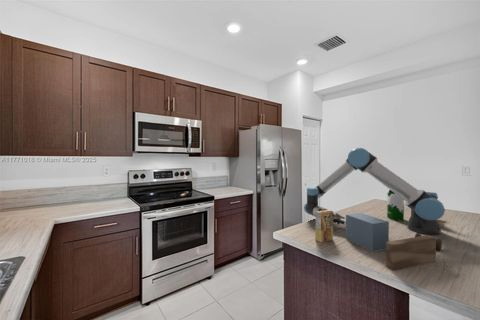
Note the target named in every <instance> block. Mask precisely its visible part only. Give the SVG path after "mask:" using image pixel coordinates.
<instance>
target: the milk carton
mask: <svg viewBox="0 0 480 320" xmlns="http://www.w3.org/2000/svg"><path fill="white" fill-rule="evenodd" d="M386 196H387V197H386V198H387V199H386V200H387V206H386V207H387V209H386V210H387V212H386V213H387V215H386V217H387V218H388V219H390V220H392V221H404V219H405V216H404V215H405V200H403V199H402V198H401V197H399V196H398V195H397V194H395V193H394V192H393V191H391V190H390V189H388V192H386Z"/></svg>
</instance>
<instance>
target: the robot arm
mask: <svg viewBox="0 0 480 320" xmlns="http://www.w3.org/2000/svg"><path fill="white" fill-rule="evenodd" d="M357 170H359V171H360V172H361V173H366V174H369V175H370V176H371V177H373V178H374V179H375V180H377V182H379V183H381V184H382V185H383V186H385V187H386V188H387V189H388V190H391V191H393V192H394V193H395V194H397V195H398V196H399V197H401V198H402V199H403V200H404V205H405V206H406V207H408V208H410V209H411V210H410V217H409V219H408V222H407V224H406V225H407V226H406V228H407V229H408V230H410V231H411V232H412V231H413V232H416V233H419V234H423V235H430V236H432V235H433V236H434V235H436V236H437V235H441V234H442V228H441V225H440V223H439V219H441V218H442V217H443V216H444V215H445V212H446V209H445V206H444V204H443V203H442V202H441V201H440V200H439V199H438V198H439V197H438V193H437V192H431V191H430V192H429V191H425V190H424V189H417V188H416V187H414V186H413V185H411V184H410V183H409V182H407V181H406V180H404V179H402V177H400V175H397V174H396V173H395V172H393V171H392V170H390V169H389V168H388V167H386V166H384V165H383V164H381V163H380V162H379V161H378V157H377V156H374V155H373V154H372V153H371V152H369V151H368V150H367V149H365V148H363V147H355V148H353V149H351V150H350V151H349V152H348V154H347V158H346V159H345V162H344V163H343V164H342V165H340V166H339V167H338V168H337V169H336V170H334V171H333V172H332V173H331V174H330V175H329V176H328V177H326V178H325V179H324V180H323V181H321V182H320V183H319V184H317V186H309V187H307V188H306V203H305V204H304V206H303V210H304V212H305V213H306V214H308V215H311V216H313V217H315V218H316V211H322V210H329V209H328V208H325V207H322V206H319V199H320V198H321V197H323V196H324V195H325V194H326V193H327V192H328V191H330V190H331V189H332V188H334V187H335V186H336V185H338V184H339V183H340V182H342V180H344V179H345V178H346V177H348V175H350V174H351V173H353V171H357ZM333 224H337V225H340V224H341V225H343V226H345V227H346V217H343V216H342V215H340V214H339V213H335V214H334V213H333Z"/></svg>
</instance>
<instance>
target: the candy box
mask: <svg viewBox="0 0 480 320" xmlns="http://www.w3.org/2000/svg"><path fill="white" fill-rule="evenodd" d="M333 214H334V211H333V210H330V209H328V210H322V211H316V217H315V232H314V233H315V237H314V239H315V241H318V242H320V243H324V242H329V241H333V239H334V223H333Z"/></svg>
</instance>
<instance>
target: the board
mask: <svg viewBox="0 0 480 320" xmlns="http://www.w3.org/2000/svg"><path fill="white" fill-rule="evenodd" d="M436 239H437V237H435V236H432V235H430V234H424V235H422V236H419V237H415V236H414V237H413V236H412V237H409V238H408V237H407V238H401V239H396V240H389V242H386V249H385V256H386V257H385V267H386V268H388V269H390V270H392V271H398V270H402V269H407V268H411V267H415V266H420V265H425V264H429V263H435V262H436V261H437V260H436V258H437V257H436V255H437V250H436Z"/></svg>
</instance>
